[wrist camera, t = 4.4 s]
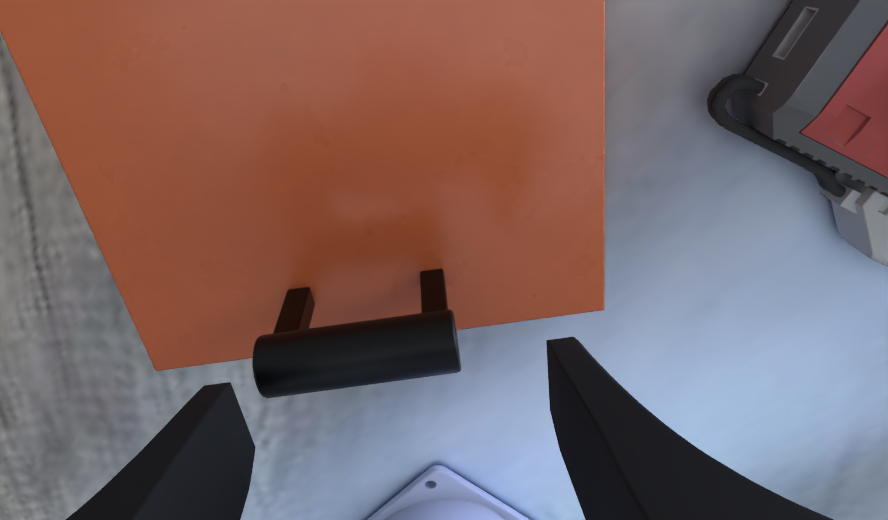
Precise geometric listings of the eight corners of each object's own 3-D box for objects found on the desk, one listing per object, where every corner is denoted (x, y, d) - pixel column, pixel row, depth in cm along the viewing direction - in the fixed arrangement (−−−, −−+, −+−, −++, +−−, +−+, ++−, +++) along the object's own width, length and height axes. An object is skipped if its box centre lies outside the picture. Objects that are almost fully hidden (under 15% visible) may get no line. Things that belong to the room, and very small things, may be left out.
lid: (599, 299, 20) (650, 396, 15) (163, 358, 20) (98, 470, 16) (597, -150, 14) (679, -187, 10) (-23, -59, 14) (-205, -56, 10)
